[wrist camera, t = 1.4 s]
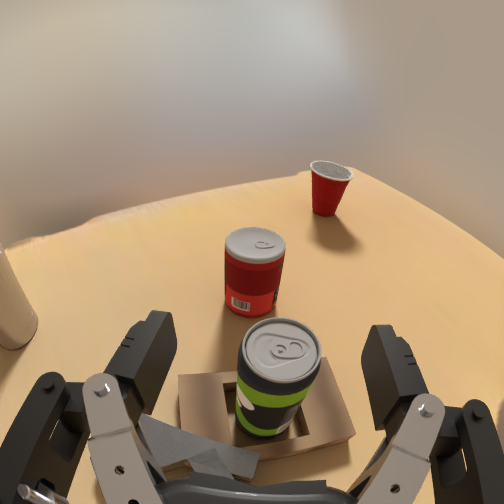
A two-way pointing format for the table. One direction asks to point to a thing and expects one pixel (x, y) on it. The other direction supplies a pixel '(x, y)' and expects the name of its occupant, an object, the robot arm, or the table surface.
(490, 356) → the table surface
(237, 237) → the canned food
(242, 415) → the beverage can
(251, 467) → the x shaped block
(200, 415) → the wooden rectangular frame
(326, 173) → the plastic cup
